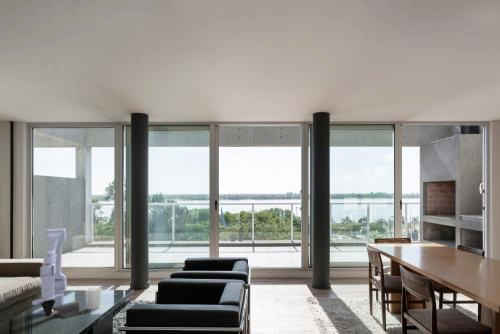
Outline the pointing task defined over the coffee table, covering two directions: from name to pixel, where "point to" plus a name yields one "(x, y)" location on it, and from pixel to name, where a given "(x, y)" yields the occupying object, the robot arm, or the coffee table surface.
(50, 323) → the coffee table surface
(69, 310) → the hinge leaves
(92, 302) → the white cup
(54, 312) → the hinge pin
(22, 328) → the coffee table surface
